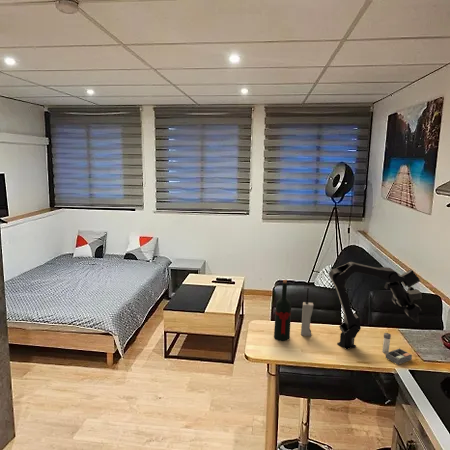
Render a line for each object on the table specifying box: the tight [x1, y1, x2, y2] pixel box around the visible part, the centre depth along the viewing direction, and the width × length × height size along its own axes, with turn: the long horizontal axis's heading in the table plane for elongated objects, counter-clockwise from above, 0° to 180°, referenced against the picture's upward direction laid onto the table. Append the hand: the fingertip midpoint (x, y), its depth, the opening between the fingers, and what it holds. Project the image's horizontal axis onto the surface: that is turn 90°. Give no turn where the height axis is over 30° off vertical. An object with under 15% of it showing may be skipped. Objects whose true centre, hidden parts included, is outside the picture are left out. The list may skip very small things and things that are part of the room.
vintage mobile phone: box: [300, 287, 314, 337], centre depth 196 cm, size 4×5×25 cm
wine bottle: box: [273, 279, 292, 342], centre depth 190 cm, size 8×10×30 cm
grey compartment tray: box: [385, 348, 413, 366], centre depth 176 cm, size 9×6×3 cm
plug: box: [381, 332, 392, 354], centre depth 181 cm, size 3×3×9 cm
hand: (413, 318), depth 185 cm, fingers open, 9 cm apart
